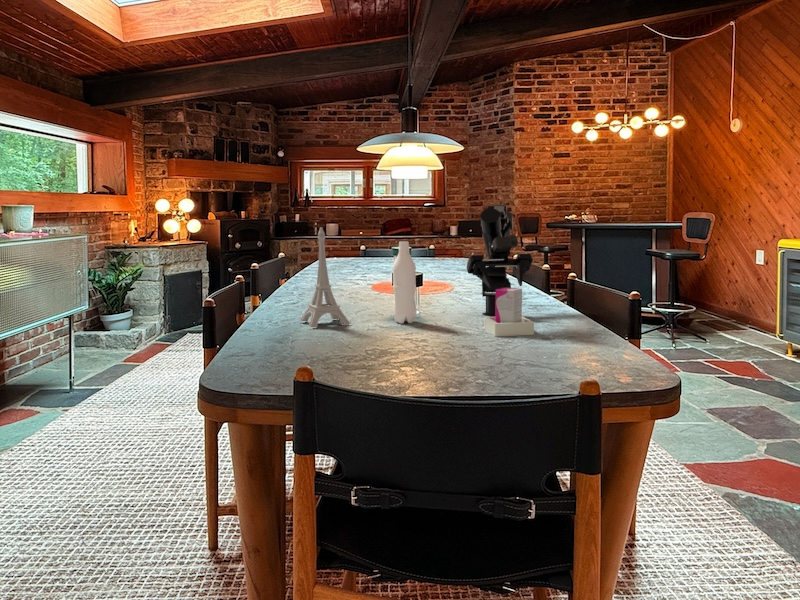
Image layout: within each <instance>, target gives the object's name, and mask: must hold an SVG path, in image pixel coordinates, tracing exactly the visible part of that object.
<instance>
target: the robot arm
mask: <svg viewBox="0 0 800 600" xmlns="http://www.w3.org/2000/svg"><path fill="white" fill-rule="evenodd" d="M507 206H508V205H505V204H493V205H487V208H485V209H484V210H483V211H482V212H481V213H480V216H479V217H480V218H479V225H480V226H481V231H482V235H481V237H482V240H483V244H484V248H485V257H487V258H484V254H470V255H469V256H468V260H467V264H466V272H467V274H469V275H470V274H471V275H472V276H476V277H477V278H478V279H479V280H481V291H482V292H481V293H482V297H483V298H485V312H482V313H481V314H482V315H485V316H488V317H495V303H496V289H501V288H512V283H511V281H510V279H509V278H508V275H507V270H506V269H507V268H508V267H514V271H515V272H514V273H515V276H516V280H517V284H518V286H519V287H522V285H523V279H524V278H523V277H524V274H525V273H526V272H528V271H529V270H530V268H531V266H532V263H533V261H534V258H533V255H532V254H531V253H530V252H526V253H524V252H523V253H521V252H520V253H517V255H516V258H509V257H510V256H511V249H512V248H517V246H518V244H519V242H518V238H517V235H512V234H511V232H512V231H513V229H514V218H513V213H512V212H511V211H509V210H508V207H507ZM506 267H507V268H506Z"/></svg>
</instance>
